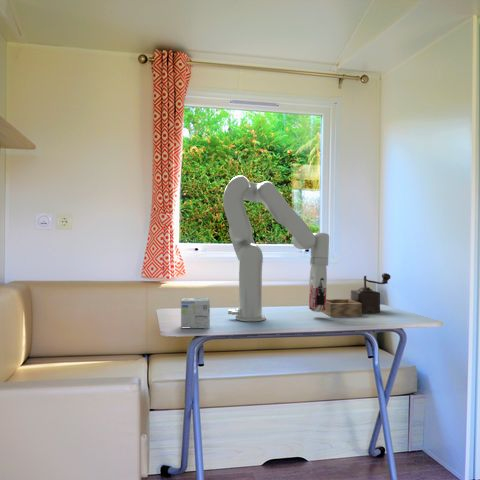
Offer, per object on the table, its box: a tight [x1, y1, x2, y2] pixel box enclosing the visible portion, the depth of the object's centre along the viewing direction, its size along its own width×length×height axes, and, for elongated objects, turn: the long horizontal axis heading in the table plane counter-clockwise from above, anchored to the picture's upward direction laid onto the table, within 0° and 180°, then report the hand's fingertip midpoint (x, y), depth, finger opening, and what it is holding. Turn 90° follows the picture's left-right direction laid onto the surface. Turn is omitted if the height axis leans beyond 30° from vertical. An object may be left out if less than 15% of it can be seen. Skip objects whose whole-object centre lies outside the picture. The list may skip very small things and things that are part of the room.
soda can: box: [308, 284, 327, 313], centre depth 177 cm, size 7×7×12 cm
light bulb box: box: [180, 297, 211, 329], centre depth 158 cm, size 11×7×11 cm, turn 93°
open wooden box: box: [322, 298, 363, 318], centre depth 187 cm, size 14×14×6 cm
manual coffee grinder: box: [350, 272, 391, 314], centre depth 192 cm, size 16×11×18 cm
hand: (317, 303), depth 177 cm, fingers closed on soda can, 6 cm apart
